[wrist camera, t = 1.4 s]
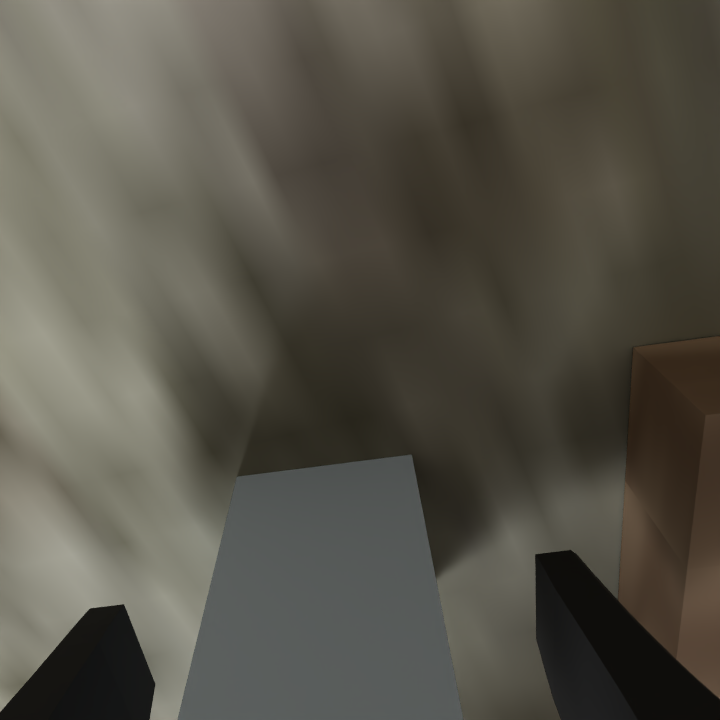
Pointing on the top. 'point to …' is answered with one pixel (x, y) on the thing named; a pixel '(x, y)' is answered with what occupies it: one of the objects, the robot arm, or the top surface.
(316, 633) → the peg
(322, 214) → the top surface
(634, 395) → the walnut socket block
